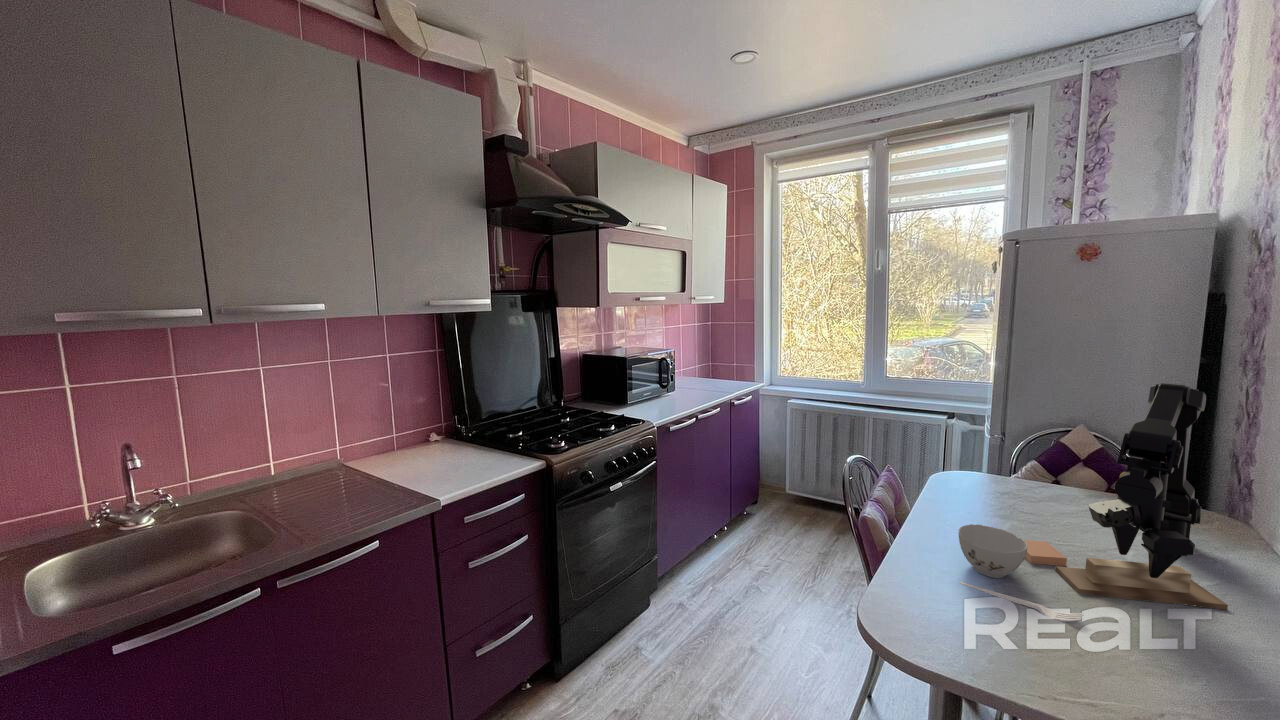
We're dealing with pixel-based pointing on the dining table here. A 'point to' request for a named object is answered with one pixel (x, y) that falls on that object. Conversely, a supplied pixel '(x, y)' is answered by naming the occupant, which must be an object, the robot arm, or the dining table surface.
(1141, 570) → the oak scraper
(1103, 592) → the rest board
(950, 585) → the dining table surface
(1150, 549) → the robot arm
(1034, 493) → the dining table surface
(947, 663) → the dining table surface
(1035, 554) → the glazed tile
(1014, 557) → the floral ceramic bowl
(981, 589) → the fork
